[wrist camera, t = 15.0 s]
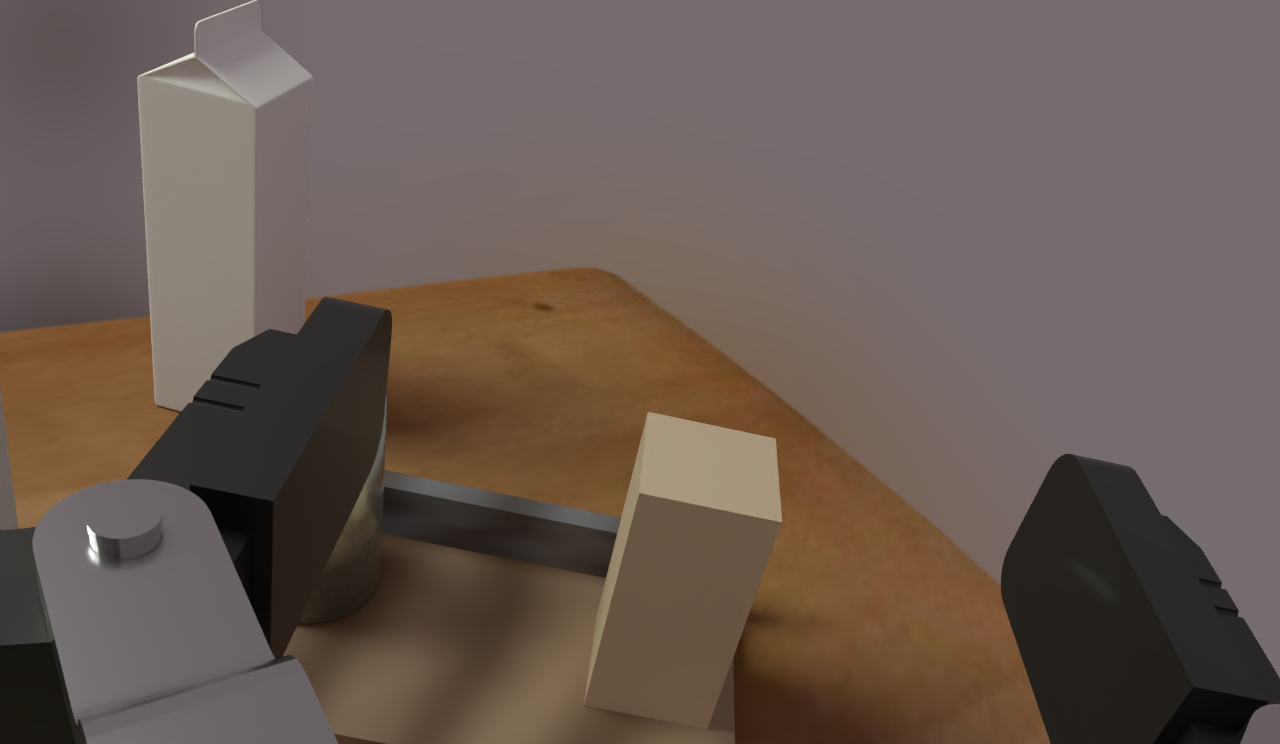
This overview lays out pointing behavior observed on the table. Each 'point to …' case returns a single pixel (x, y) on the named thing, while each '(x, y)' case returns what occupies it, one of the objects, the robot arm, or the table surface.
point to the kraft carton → (683, 570)
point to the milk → (223, 198)
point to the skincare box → (6, 481)
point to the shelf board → (479, 629)
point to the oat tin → (353, 553)
